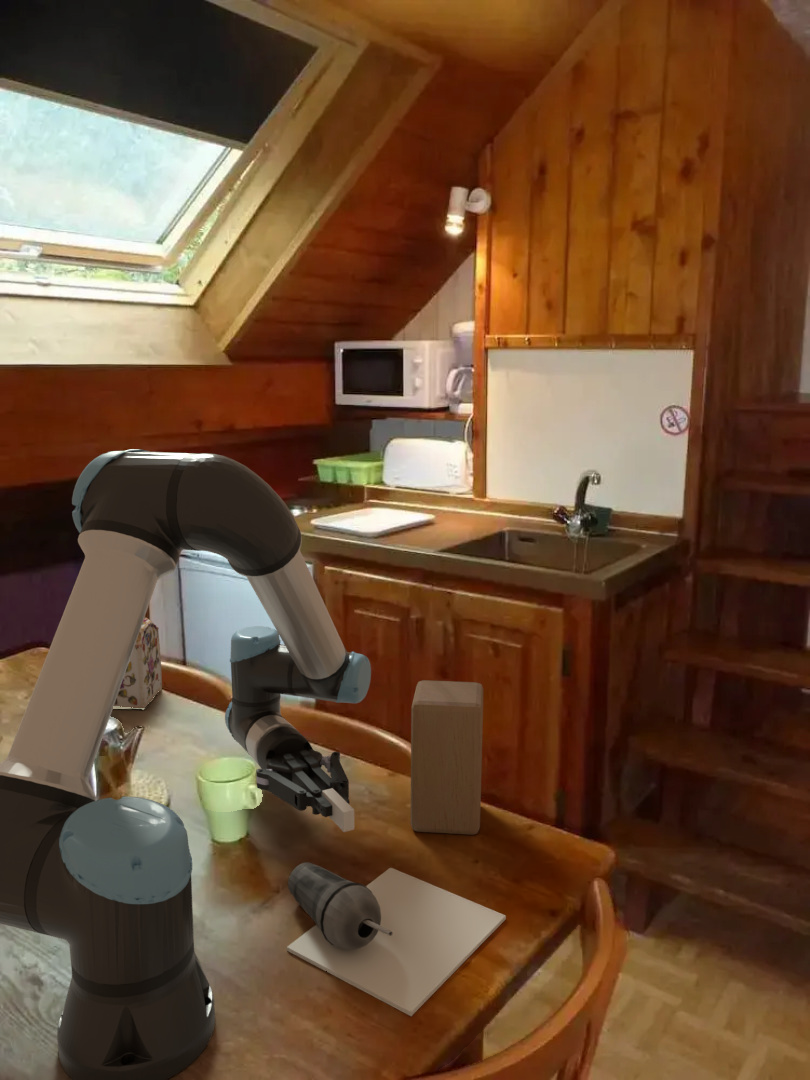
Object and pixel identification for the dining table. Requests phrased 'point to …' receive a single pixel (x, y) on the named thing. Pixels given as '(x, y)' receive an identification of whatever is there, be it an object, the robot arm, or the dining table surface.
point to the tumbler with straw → (337, 906)
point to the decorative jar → (142, 669)
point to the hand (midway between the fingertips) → (348, 820)
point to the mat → (406, 942)
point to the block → (446, 757)
